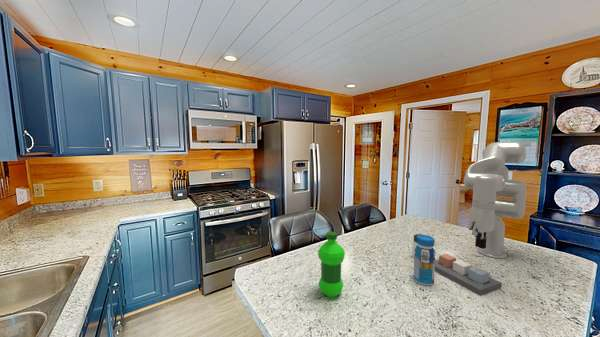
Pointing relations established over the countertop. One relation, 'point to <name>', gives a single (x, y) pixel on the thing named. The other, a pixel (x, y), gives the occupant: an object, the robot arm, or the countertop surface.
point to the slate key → (478, 275)
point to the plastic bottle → (331, 266)
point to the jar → (414, 244)
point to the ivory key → (461, 267)
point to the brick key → (446, 260)
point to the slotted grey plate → (468, 280)
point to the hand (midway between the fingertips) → (480, 247)
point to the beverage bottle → (424, 260)
